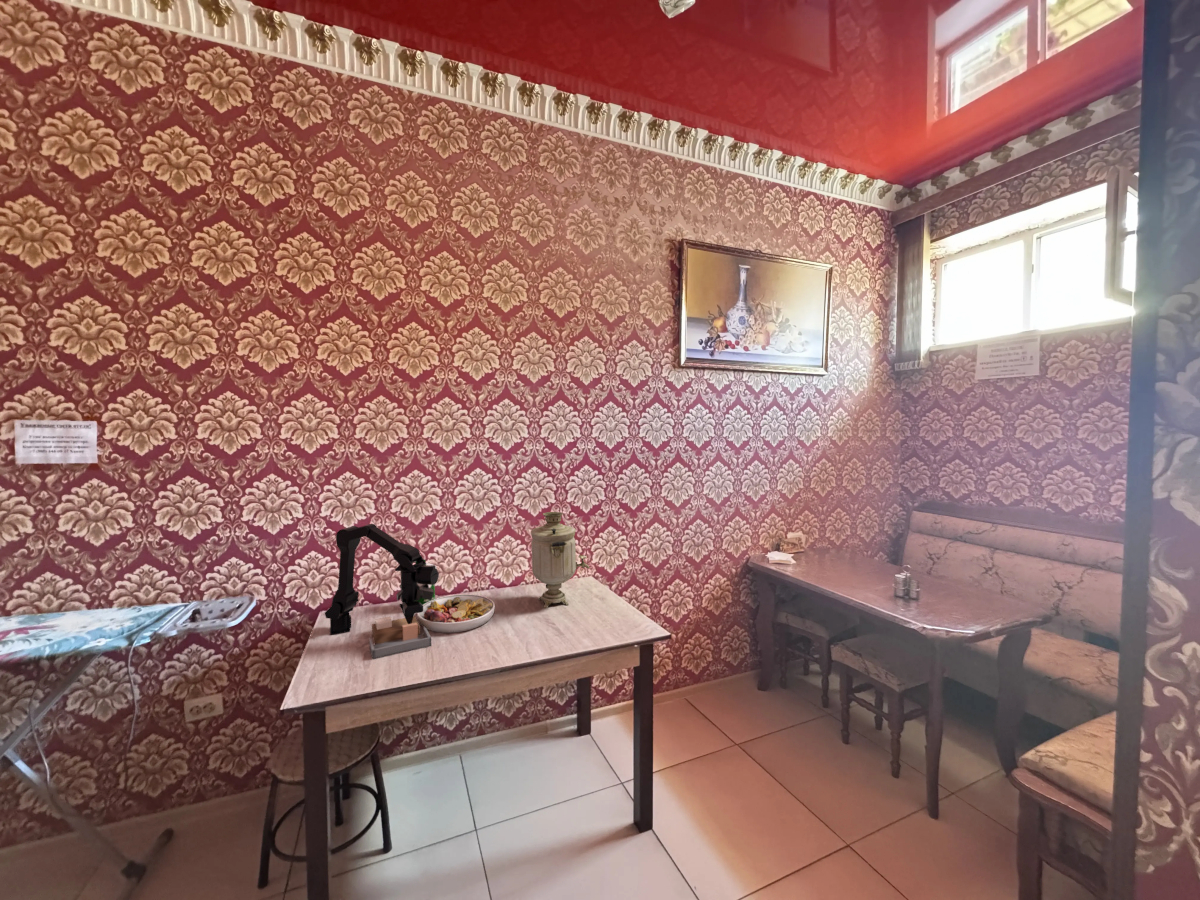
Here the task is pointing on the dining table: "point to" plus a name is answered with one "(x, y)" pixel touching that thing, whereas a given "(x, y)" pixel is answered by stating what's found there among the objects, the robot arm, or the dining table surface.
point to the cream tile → (383, 623)
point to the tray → (399, 645)
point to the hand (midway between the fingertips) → (409, 624)
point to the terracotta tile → (409, 631)
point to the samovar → (554, 556)
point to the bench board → (391, 631)
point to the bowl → (456, 613)
